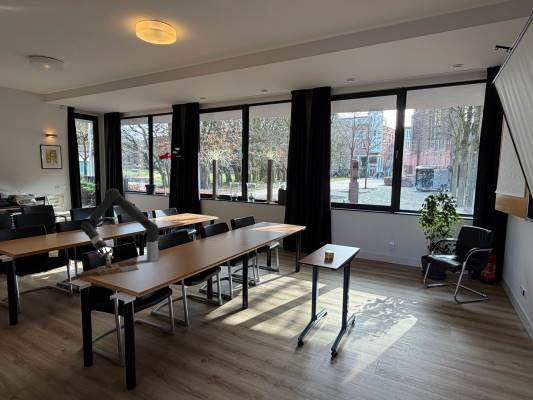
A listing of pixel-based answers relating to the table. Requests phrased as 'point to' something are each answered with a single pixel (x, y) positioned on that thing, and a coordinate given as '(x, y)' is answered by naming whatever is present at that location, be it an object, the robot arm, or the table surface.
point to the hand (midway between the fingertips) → (110, 260)
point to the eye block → (108, 269)
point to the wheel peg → (109, 258)
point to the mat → (128, 268)
